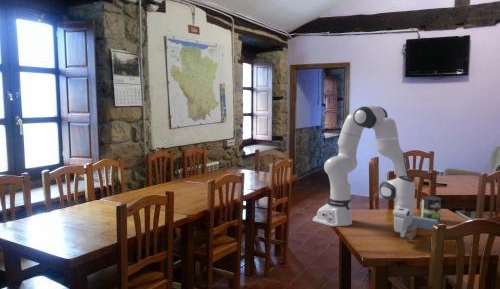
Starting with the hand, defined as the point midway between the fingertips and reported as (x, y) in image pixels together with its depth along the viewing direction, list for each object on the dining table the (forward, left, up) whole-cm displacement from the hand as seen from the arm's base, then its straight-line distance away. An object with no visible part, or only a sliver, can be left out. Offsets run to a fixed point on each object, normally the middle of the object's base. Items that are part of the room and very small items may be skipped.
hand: (403, 236), depth 199 cm
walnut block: (0, +10, -3) cm, 10 cm away
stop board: (0, +29, -3) cm, 29 cm away
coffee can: (+4, +43, -3) cm, 43 cm away
